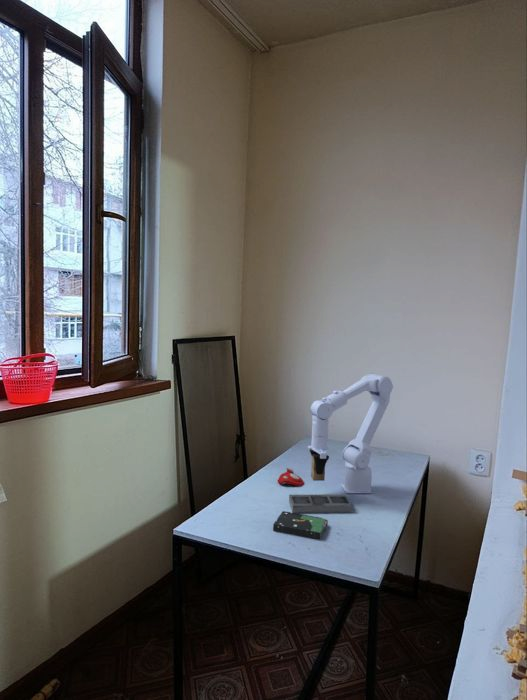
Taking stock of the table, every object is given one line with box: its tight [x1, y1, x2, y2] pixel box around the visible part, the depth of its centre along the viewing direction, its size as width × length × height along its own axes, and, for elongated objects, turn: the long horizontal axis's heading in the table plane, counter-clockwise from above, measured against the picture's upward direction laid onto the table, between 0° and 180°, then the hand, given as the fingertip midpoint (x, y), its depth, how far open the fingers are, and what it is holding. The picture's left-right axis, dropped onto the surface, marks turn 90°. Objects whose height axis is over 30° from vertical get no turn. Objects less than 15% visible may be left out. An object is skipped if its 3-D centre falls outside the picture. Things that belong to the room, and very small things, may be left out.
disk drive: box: [272, 510, 329, 541], centre depth 149 cm, size 10×3×15 cm
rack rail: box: [288, 494, 354, 514], centre depth 164 cm, size 20×9×2 cm, turn 95°
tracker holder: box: [277, 467, 305, 487], centre depth 187 cm, size 13×5×10 cm
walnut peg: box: [310, 456, 326, 482], centre depth 173 cm, size 4×4×8 cm
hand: (318, 471), depth 173 cm, fingers closed on walnut peg, 4 cm apart
